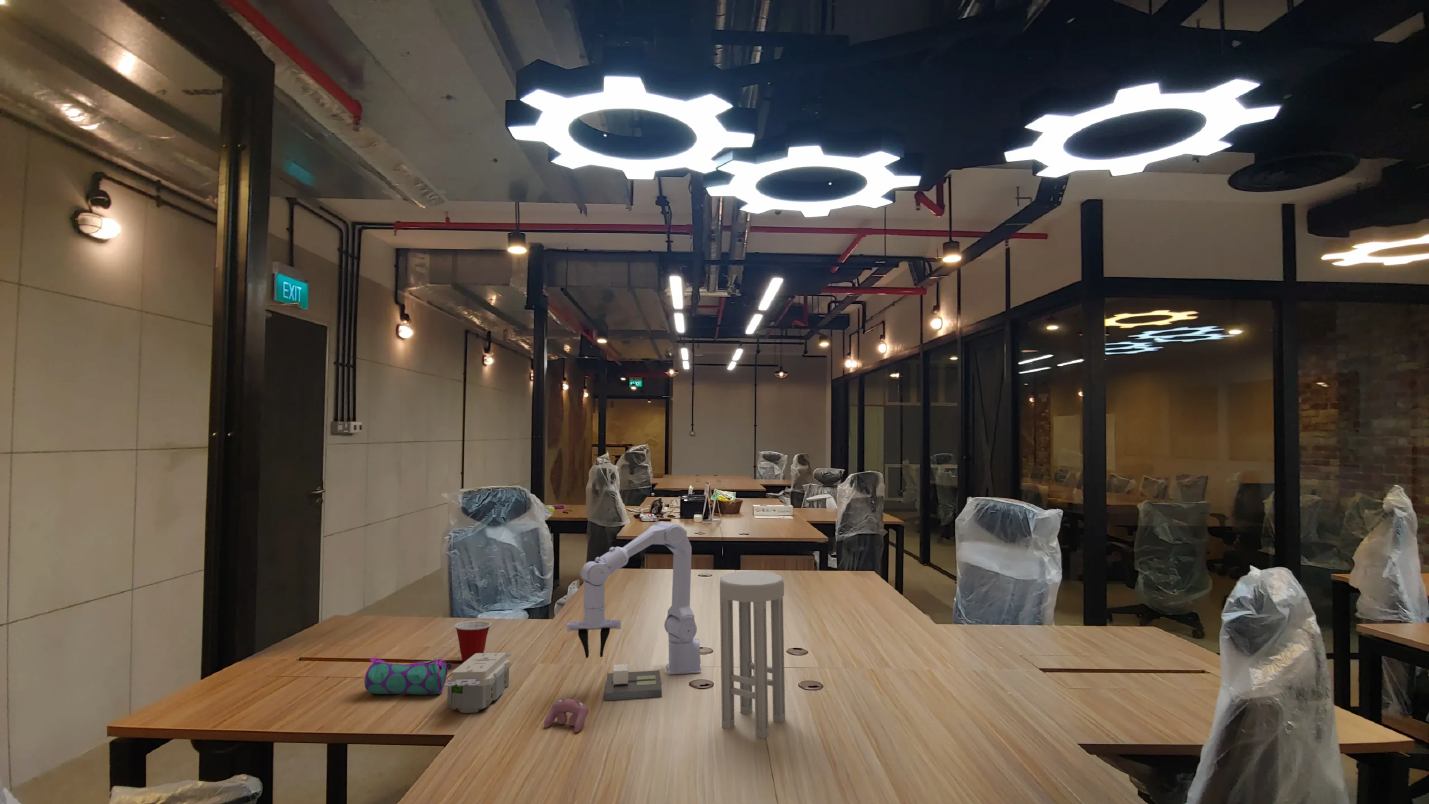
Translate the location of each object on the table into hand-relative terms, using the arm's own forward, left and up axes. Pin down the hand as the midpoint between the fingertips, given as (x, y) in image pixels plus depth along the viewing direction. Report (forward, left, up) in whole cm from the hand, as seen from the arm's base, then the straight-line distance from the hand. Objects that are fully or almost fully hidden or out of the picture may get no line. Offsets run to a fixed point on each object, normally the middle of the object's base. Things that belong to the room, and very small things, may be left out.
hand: (594, 656), depth 175 cm
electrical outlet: (+30, 0, -10) cm, 32 cm away
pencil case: (+51, -7, -10) cm, 53 cm away
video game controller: (+5, +20, -10) cm, 23 cm away
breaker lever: (-7, 0, -7) cm, 10 cm away
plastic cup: (+39, -29, -10) cm, 50 cm away
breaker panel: (-11, 0, -9) cm, 14 cm away
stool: (-40, +26, -10) cm, 48 cm away
